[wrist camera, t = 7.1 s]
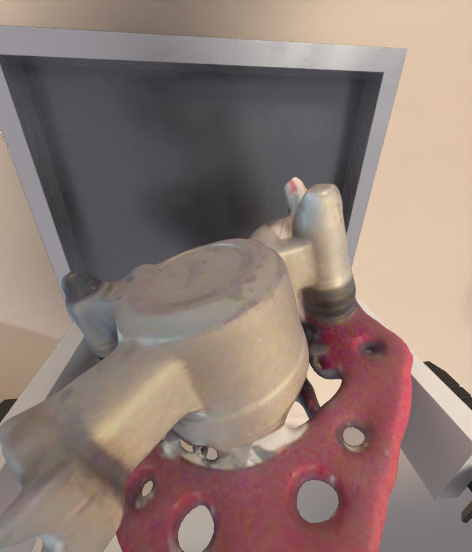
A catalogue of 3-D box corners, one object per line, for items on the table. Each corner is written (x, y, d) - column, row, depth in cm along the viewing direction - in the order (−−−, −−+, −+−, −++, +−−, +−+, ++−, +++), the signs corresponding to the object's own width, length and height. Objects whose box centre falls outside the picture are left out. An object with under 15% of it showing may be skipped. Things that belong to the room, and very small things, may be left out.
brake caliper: (168, 452, 14) (-275, 1191, 2) (127, 268, 16) (-250, 137, 4) (363, 397, 14) (1015, 899, 2) (300, 216, 16) (453, -89, 4)
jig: (-6, 33, 13) (-58, 6, 11) (383, 54, 15) (419, 36, 13) (98, 345, 24) (84, 371, 21) (321, 330, 26) (334, 351, 23)
